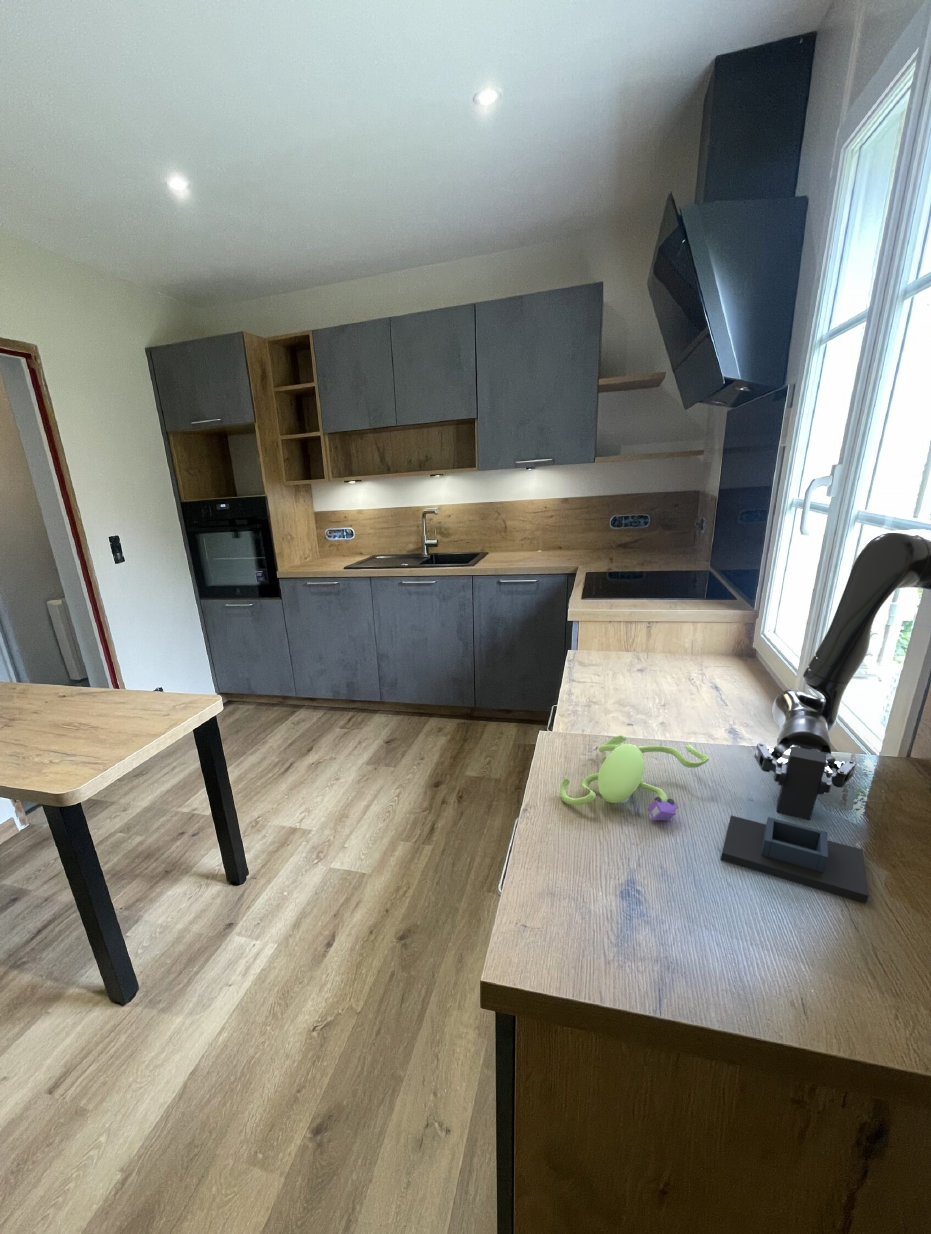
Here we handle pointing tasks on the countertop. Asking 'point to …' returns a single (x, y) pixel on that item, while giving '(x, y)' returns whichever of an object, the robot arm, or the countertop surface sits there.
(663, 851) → the countertop surface
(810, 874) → the black socket base
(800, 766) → the black rectangular block
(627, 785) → the figurine
